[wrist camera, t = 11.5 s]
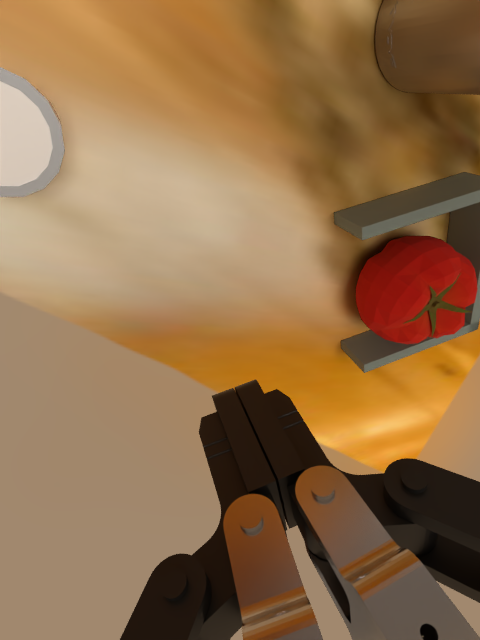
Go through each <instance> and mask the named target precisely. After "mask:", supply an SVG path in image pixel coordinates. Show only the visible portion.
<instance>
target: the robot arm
mask: <svg viewBox="0 0 480 640" xmlns="http://www.w3.org/2000/svg"><path fill="white" fill-rule="evenodd" d="M375 47H376V56H377V60H378V64H379V67H380V69H381V71H382V73H383V75H384V77H385V78H386V80H387V81H388V82H389V83H390V84H391V85H392V86H394V87H395V88H396V89H398V90H401V91H404V92H409V93H440V94H474V95H480V0H383V3H382V6H381V8H380V11H379V15H378V20H377V24H376V34H375ZM212 398H213V401H214V404H215V407H216V410H217V412H216V413H213V414H210V415H207V416H205V417H202V419H201V424H200V429H199V434H200V438H201V441H202V444H203V447H204V451H205V454H206V458H207V461H208V464H209V468H210V471H211V475H212V478H213V481H214V484H215V488H216V491H217V495H218V498H219V501H220V505H221V519H220V523H219V525H218V528H217V530H216V531H215V533H214V535H213V536H212V537H211V539H209V540H208V541H207V542H206V543H205V544H204V545H203V546H202V547H201V548H200V549H198V550H197V551H196V552H195V553H194V554H193V555H188V554H176V555H172V556H170V557H168V558H166V559H165V560H163V561H162V562H161V563H160V564H159V565H158V566H157V567H156V568H155V569H154V571H153V572H152V574H151V576H150V578H149V580H148V582H147V584H146V586H145V588H144V590H143V592H142V594H141V597H140V599H139V601H138V603H137V605H136V607H135V609H134V611H133V613H132V615H131V618H130V620H129V622H128V624H127V626H126V628H125V630H124V633H123V634H122V636H121V638H120V640H230V638H231V637H232V636H233V635H234V634H235V633H236V632H237V631H238V630H239V629H240V628H241V627H242V634H243V640H323V638H322V635H321V632H320V629H319V626H318V623H317V621H316V618H315V615H314V612H313V609H312V607H311V604H310V602H309V600H308V598H307V595H306V592H305V590H304V587H303V584H302V581H301V578H300V575H299V572H298V569H297V566H296V563H295V560H294V558H293V555H292V551H291V549H290V546H289V543H288V539H287V535H286V530H287V527H286V522H287V524H288V526H289V528H292V527H294V526H296V525H298V528H299V530H300V532H301V534H302V536H303V538H304V541H305V546H306V550H307V553H308V555H309V557H310V559H311V561H312V562H313V564H314V566H315V568H316V570H317V572H318V574H319V575H320V577H321V579H322V581H323V582H324V585H325V587H326V588H327V590H328V592H329V594H330V596H331V598H332V599H333V601H334V603H335V605H336V607H337V609H338V611H339V613H340V614H341V616H342V618H343V620H344V622H345V624H346V626H347V628H348V630H349V632H350V635H351V637H352V640H480V637H479V636H478V635H477V633H476V632H475V631H474V630H473V628H472V627H471V626H470V624H469V623H468V622H467V621H466V619H465V618H464V617H463V615H462V614H461V613H460V611H459V610H458V609H457V608H456V606H455V605H454V604H453V602H452V601H451V600H450V599H449V597H448V596H447V595H446V593H445V592H444V591H443V590H442V588H441V587H440V586H439V584H438V583H437V582H436V581H438V582H440V583H442V584H444V585H446V586H448V587H450V588H452V589H454V590H456V591H458V592H460V593H461V594H464V595H465V596H467V597H469V598H471V599H473V600H476V601H477V602H479V603H480V482H478V481H475V480H473V479H470V478H467V477H464V476H462V475H459V474H456V473H453V472H450V471H448V470H445V469H442V468H440V467H437V466H434V465H431V464H428V463H426V462H423V461H420V460H417V459H407V458H406V459H400V460H397V461H395V462H393V463H391V464H390V465H389V466H388V467H387V469H386V470H385V473H383V474H370V475H353V474H349V473H345V472H343V471H341V470H339V469H337V468H336V467H335V466H333V465H332V464H331V463H330V461H329V460H328V459H327V458H326V456H325V454H324V452H323V451H322V449H321V448H320V446H319V444H318V443H317V441H316V439H315V438H314V436H313V435H312V433H311V431H310V430H309V428H308V427H307V425H306V423H305V422H304V421H303V419H302V417H301V415H300V414H299V412H298V411H297V409H296V407H295V406H294V404H293V402H292V401H291V399H290V398H289V397H288V396H286V395H285V394H283V393H282V392H280V391H279V390H277V389H276V390H273V391H271V392H268V393H265V394H264V393H263V391H262V389H261V387H260V385H259V383H258V382H257V380H253V381H250V382H248V383H245V384H242V385H240V386H237V387H235V390H234V389H233V388H232V389H229V390H226V391H224V392H221V393H218V394H215V395H213V396H212ZM284 517H285V518H284ZM285 520H286V522H285Z"/></svg>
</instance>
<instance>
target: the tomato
mask: <svg viewBox="0 0 480 640" xmlns="http://www.w3.org/2000/svg"><path fill="white" fill-rule="evenodd" d="M476 294H477V278H476V273H475V268H474V267H473V265H472V263H471V262H470V260H469V259H468V258H466V257H465V256H463V255H462V254H460V253H458V252H456V251H455V250H454V248H453V247H452V246H450V245H449V244H447V243H446V242H444V241H443V240H441V239H438V238H434V237H431V236H405V237H401V238H397V239H394V240H391V241H390V242H388V243H387V245H386V246H385V248H384V249H383V250H382V251H381V252H380V253H378V254H376V255H375V256H373V257H371V258H369V259H368V260H367V262H366V264H365V265H364V267H363V269H362V270H361V272H360V275H359V279H358V282H357V286H356V303H357V308H358V311H359V314H360V317H361V320H362V321H363V322H364V323H365V324H366V325H367V327H368V328H370V329H371V330H372V331H373V332H374V333H375V334H377V335H379V336H380V337H382V338H383V339H385V340H389V341H393V342H397V343H403V344H415V343H419V342H421V341H423V340H424V339H426V338H427V337H432V338H439V337H441V336H444V335H451V334H455V333H456V332H457V331H458V330H459V329H461V328H462V327H463V326H464V323H465V313H468V312H471V311H467V310H465V307H467V306H469V305H471V304H473V303H475V299H476Z"/></svg>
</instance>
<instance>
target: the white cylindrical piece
mask: <svg viewBox="0 0 480 640" xmlns="http://www.w3.org/2000/svg"><path fill="white" fill-rule="evenodd" d="M64 151H65V149H64V142H63V135H62V128H61V123H60V120H59V118H58V116H57V114H56V112H55V110H54V109H53V107H52V105H51V103H50V102H49V101H48V100H47V99H46V98H45V97H44V96H43V95H42V94H41V93H40V92H39V91H38V90H37V89H36V88H34V87H33V86H32V85H31V84H30V83H29V82H28V81H27V80H26V79H24V78H22V77H20V76H18V75H16V74H13V73H11V72H9V71H7V70H5V69H3V68H1V67H0V197H25V196H27V195H30V194H32V193H34V192H37V191H39V190H42V189H44V188H45V187H46V186H47V185H48V184H49V183H50V182H51V180H52V179H53V178H54V177H55V176H56V175H57V174H58V173H59V170H60V166H61V162H62V159H63V155H64Z"/></svg>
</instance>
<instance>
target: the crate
mask: <svg viewBox="0 0 480 640" xmlns="http://www.w3.org/2000/svg"><path fill="white" fill-rule="evenodd" d="M447 212H450V220H449V229H448V237H447V244H449V245H450V246H452V247H453V248H454V250H455V251H456V252H458V253H460V254H462V255H463V256H465V257H466V258H468V259H469V260H470V262H471V263H472V265H473V267H474V268H475V273H476V278H477V294H476V299H475V303H473V304H471V305H469V306H467V307H465V310H467V311H471V312H468V313H465V323H464V326H463V327H462V328H461V329H459V330H458V331H457V332H456V333H455V334H451V335H444V336H441V337H439V338H432V337H427V338H426V339H424V340H423V341H421V342H419V343H415V344H403V343H397V342H393V341H389V340H385V339H383V338H382V337H380V336H379V335H377V334H375V333H374V332H373V331H372V330H369V331H367V332H364V333H361V334H358V335H356V336H353V337H350V338H348V339H345V340H342V341H341V348H342V350H343V351H344V352H345V353H346V354H347V355H348V356H349V357H350V358H351V359H352V360H353V361H354V362H355V363H356V365H357V366H358V367H359V368H360V369H361V370H362V371H363V372H364V373H365V372H368V371H370V370H373V369H375V368H378V367H381V366H383V365H386V364H388V363H391V362H394V361H396V360H399V359H401V358H404V357H407V356H409V355H412V354H414V353H417V352H420V351H422V350H425V349H427V348H430V347H433V346H435V345H438V344H440V343H443V342H446V341H448V340H451V339H453V338H456V337H459V336H461V335H464V334H466V333H469V332H472V331H474V330H477V329H478V325H479V319H480V176H479V175H474V174H470V173H466V172H463V173H460V174H457V175H454V176H450V177H447V178H444V179H441V180H438V181H434V182H431V183H428V184H425V185H421V186H418V187H415V188H412V189H409V190H405V191H402V192H399V193H396V194H392V195H389V196H386V197H383V198H379V199H376V200H373V201H370V202H367V203H363V204H360V205H357V206H354V207H350V208H347V209H344V210H341V211H337V212H334V223H335V225H337V226H339V227H340V228H342V229H344V230H346V231H347V232H349V233H351V234H352V235H354V236H356V237H358V238H359V239H361V240H365V239H368V238H371V237H374V236H377V235H380V234H383V233H386V232H389V231H392V230H395V229H398V228H401V227H404V226H408V225H411V224H414V223H417V222H420V221H423V220H426V219H429V218H432V217H435V216H438V215H441V214H444V213H447Z"/></svg>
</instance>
